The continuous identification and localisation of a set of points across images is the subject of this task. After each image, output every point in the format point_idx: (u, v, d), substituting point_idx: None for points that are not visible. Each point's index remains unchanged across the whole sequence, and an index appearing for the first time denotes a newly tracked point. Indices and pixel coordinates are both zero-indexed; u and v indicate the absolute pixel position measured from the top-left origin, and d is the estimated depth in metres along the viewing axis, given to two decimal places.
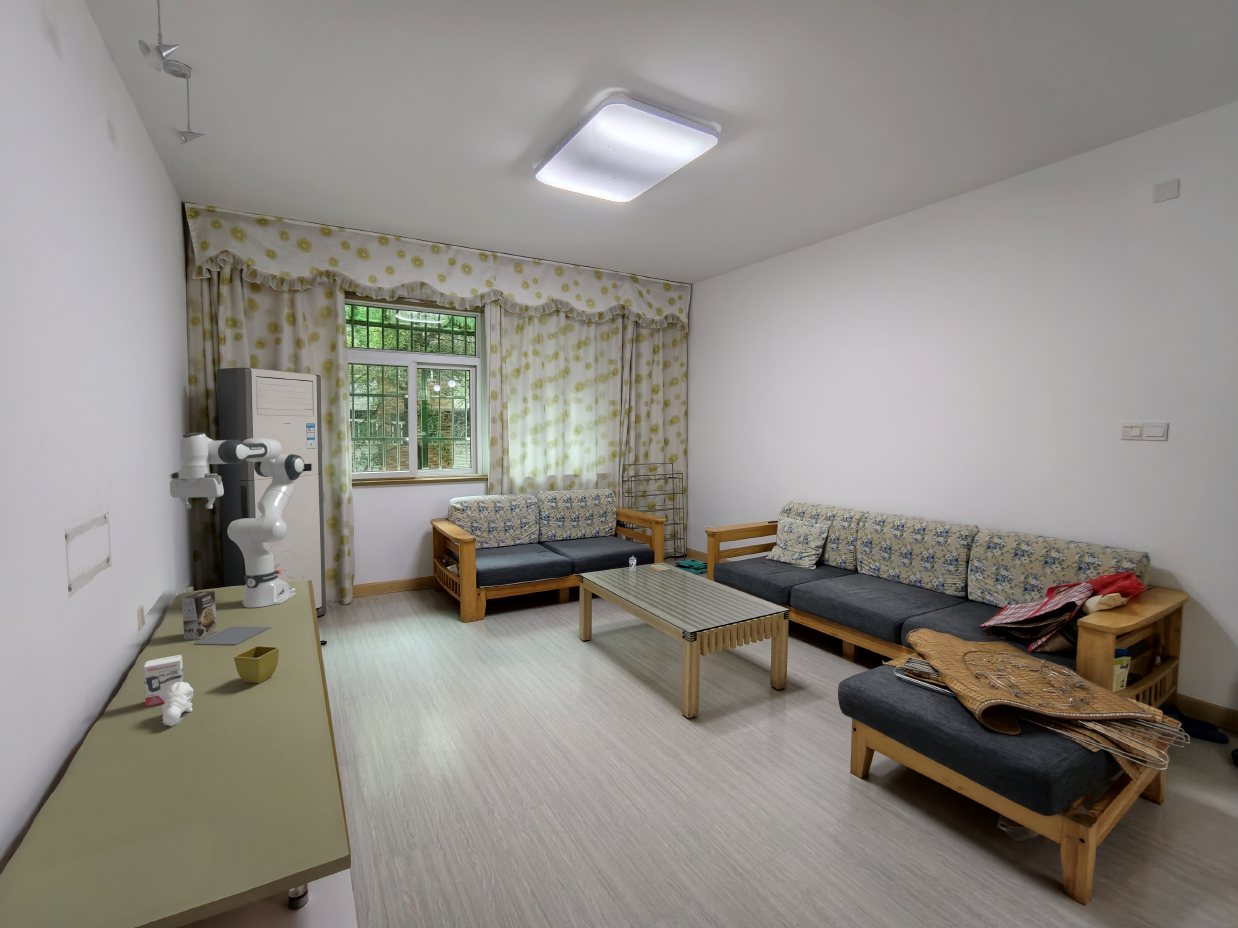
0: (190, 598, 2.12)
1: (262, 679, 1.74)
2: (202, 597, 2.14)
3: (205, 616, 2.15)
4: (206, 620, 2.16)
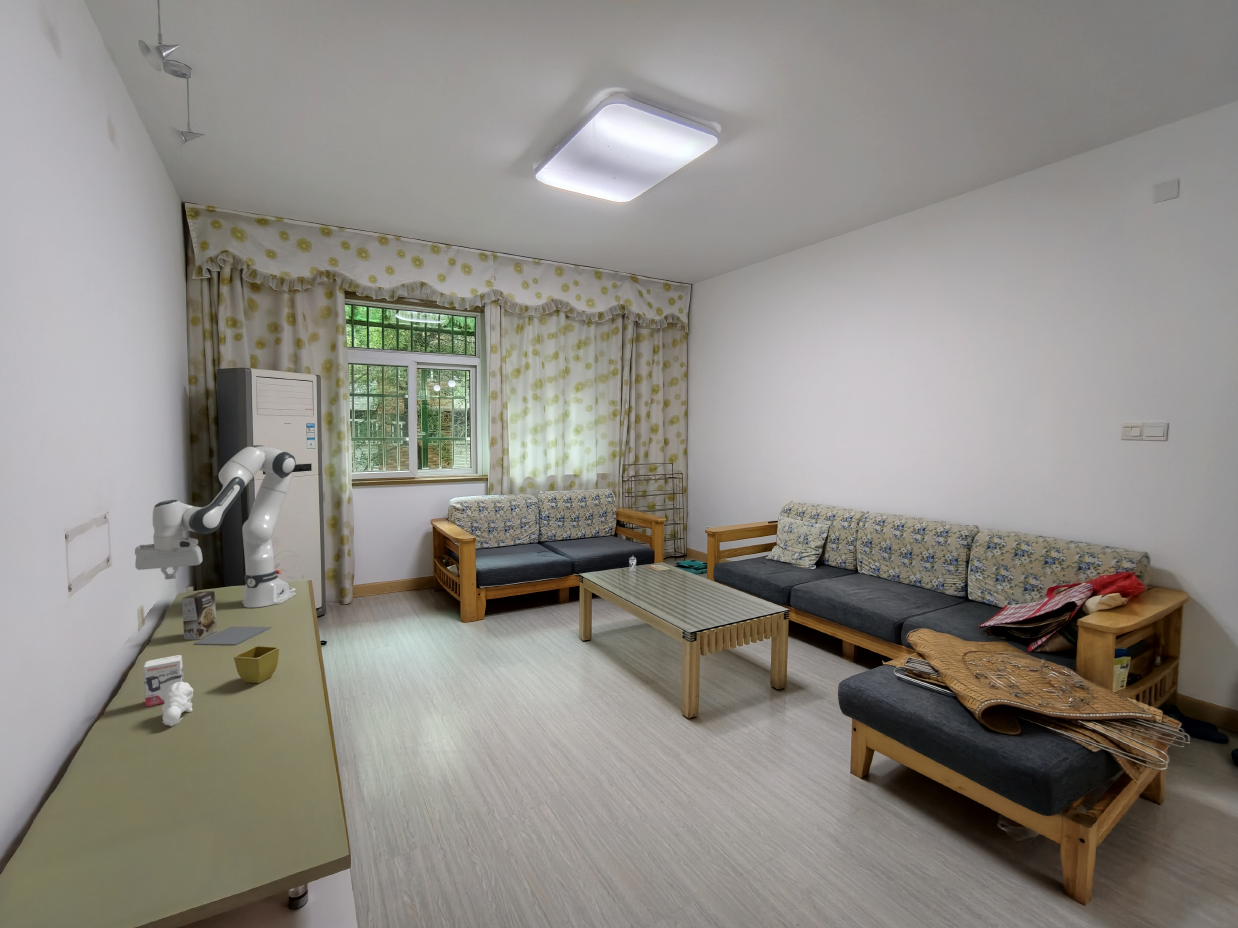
0: (190, 598, 2.12)
1: (262, 679, 1.74)
2: (202, 597, 2.14)
3: (205, 616, 2.15)
4: (206, 620, 2.16)
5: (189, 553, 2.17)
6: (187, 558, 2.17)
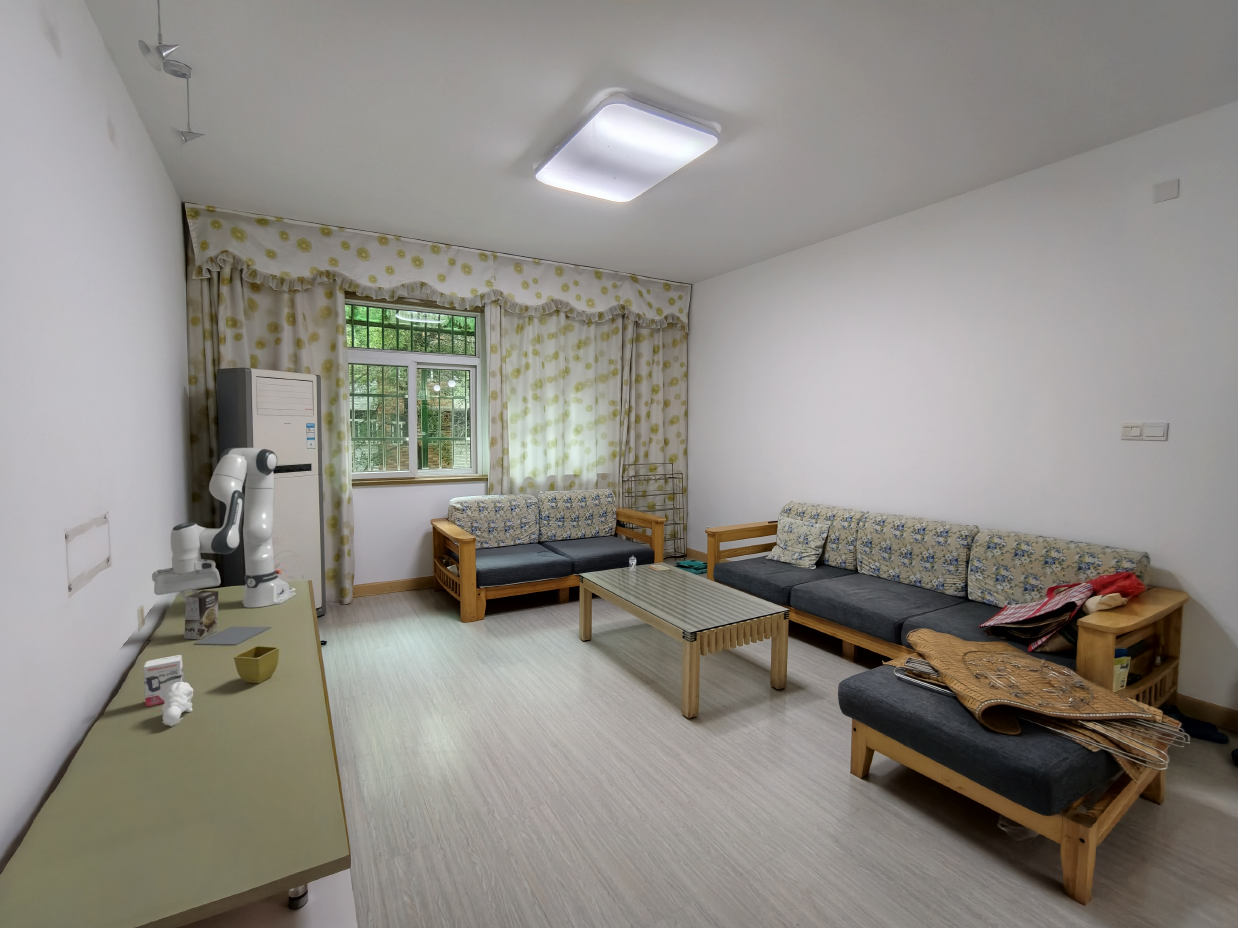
0: (194, 598, 2.12)
1: (262, 679, 1.74)
2: (206, 597, 2.14)
3: (207, 616, 2.15)
4: (208, 620, 2.16)
5: (209, 574, 2.19)
6: (208, 579, 2.19)
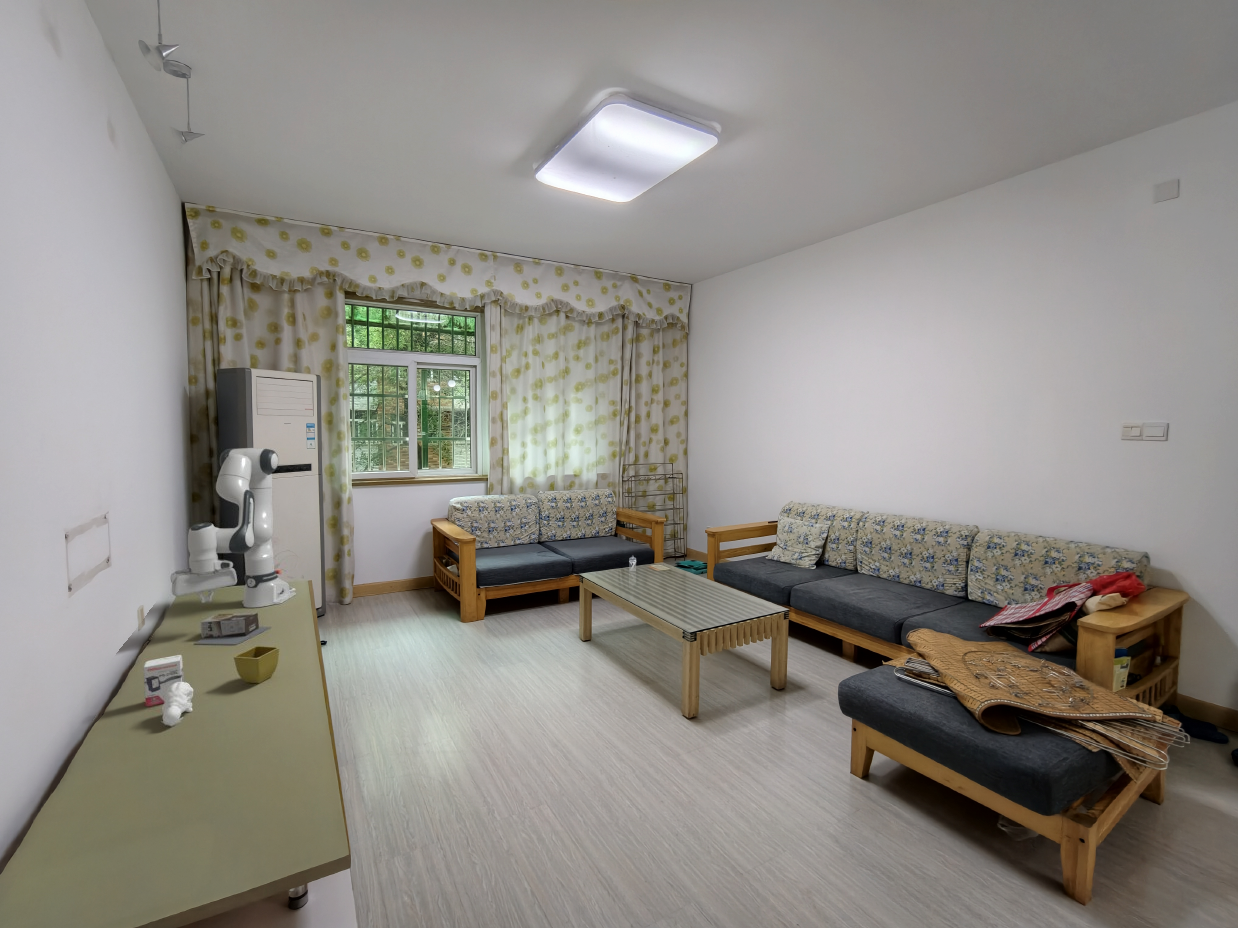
0: (244, 628, 2.14)
1: (262, 679, 1.74)
2: None
3: None
4: None
5: (226, 574, 2.20)
6: (225, 579, 2.19)
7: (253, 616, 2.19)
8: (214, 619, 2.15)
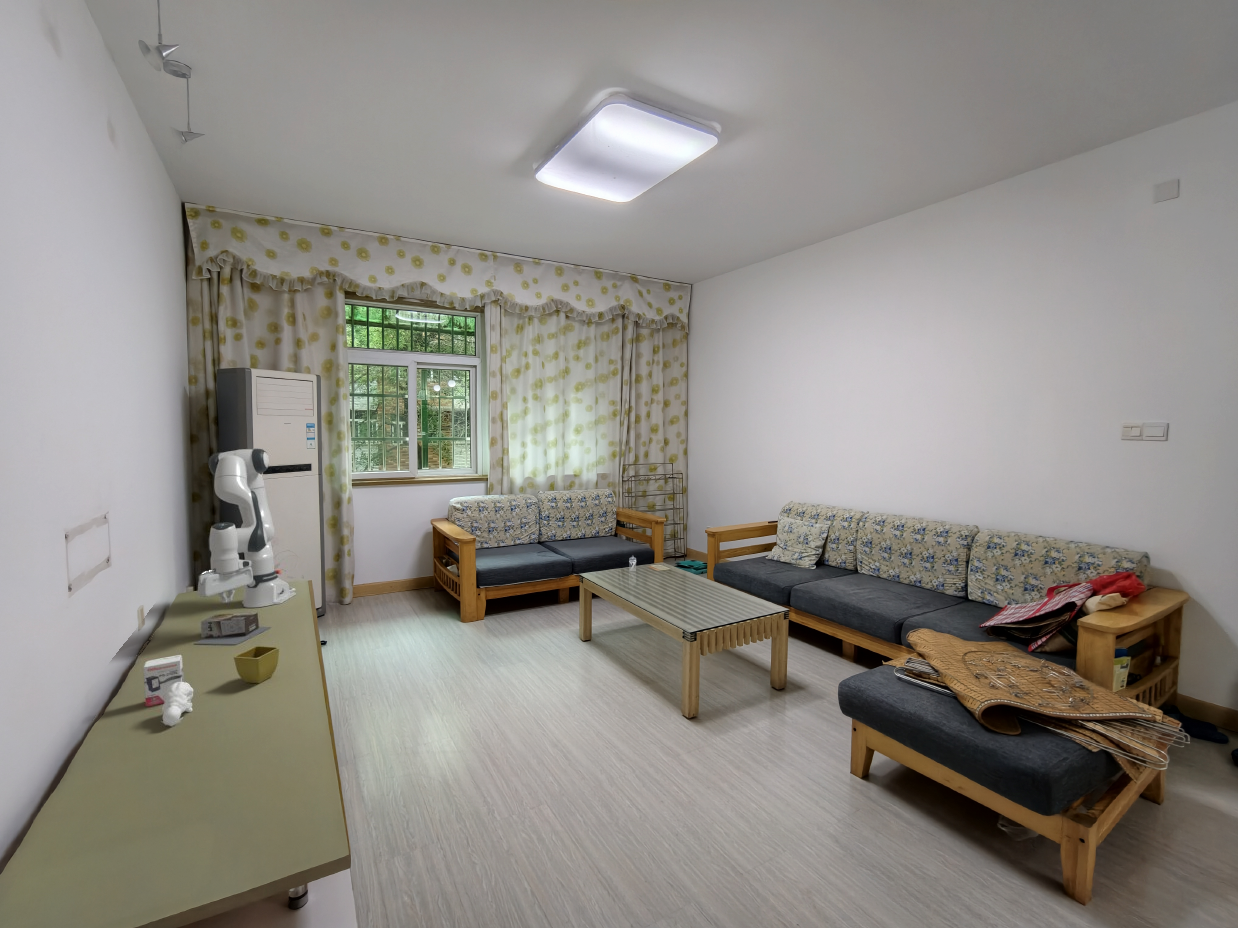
0: (244, 628, 2.14)
1: (262, 679, 1.74)
2: None
3: None
4: None
5: (245, 573, 2.21)
6: (244, 578, 2.20)
7: (253, 616, 2.19)
8: (214, 619, 2.15)
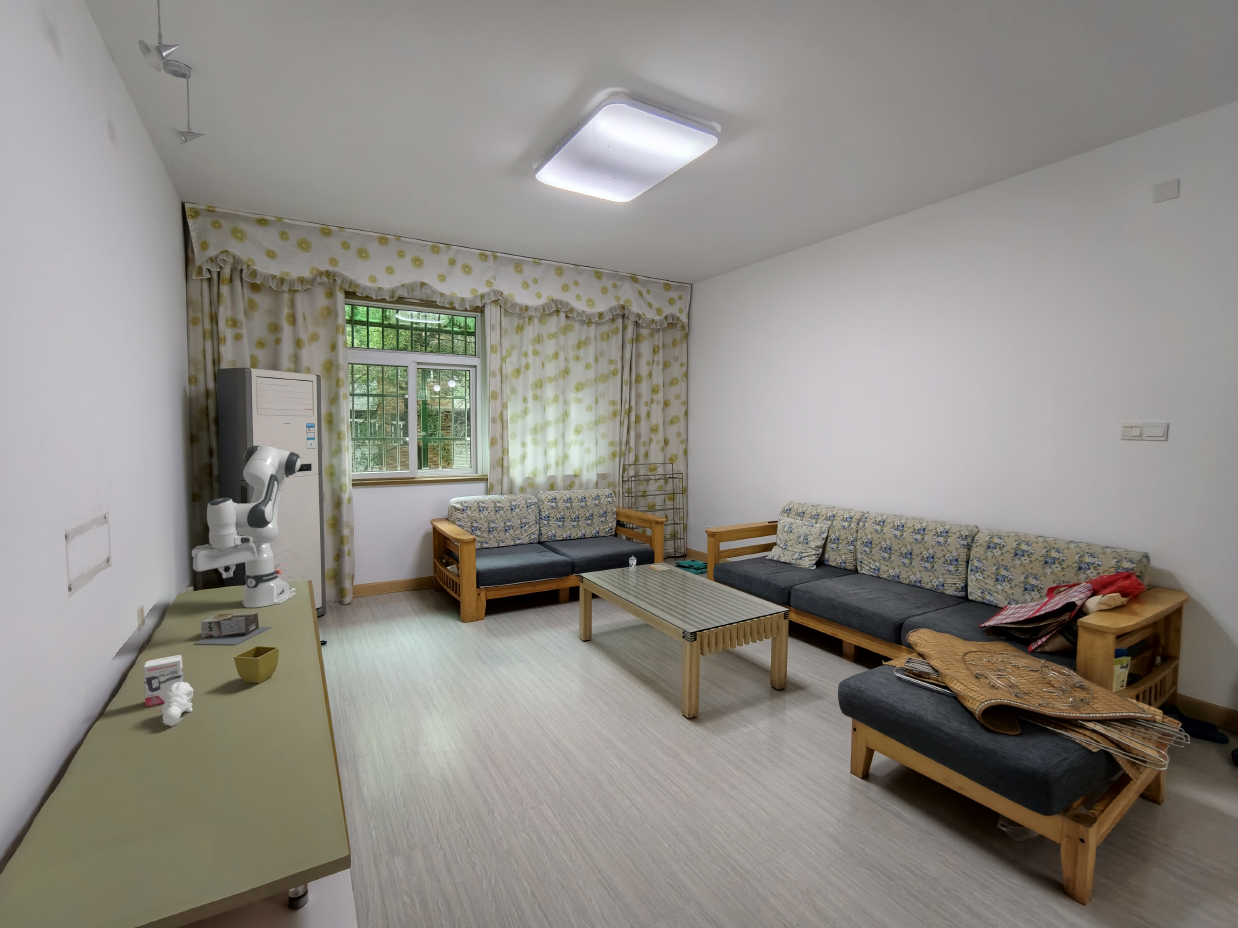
0: (244, 628, 2.14)
1: (262, 679, 1.74)
2: None
3: None
4: None
5: (247, 549, 2.18)
6: (246, 554, 2.18)
7: (253, 616, 2.19)
8: (214, 619, 2.15)
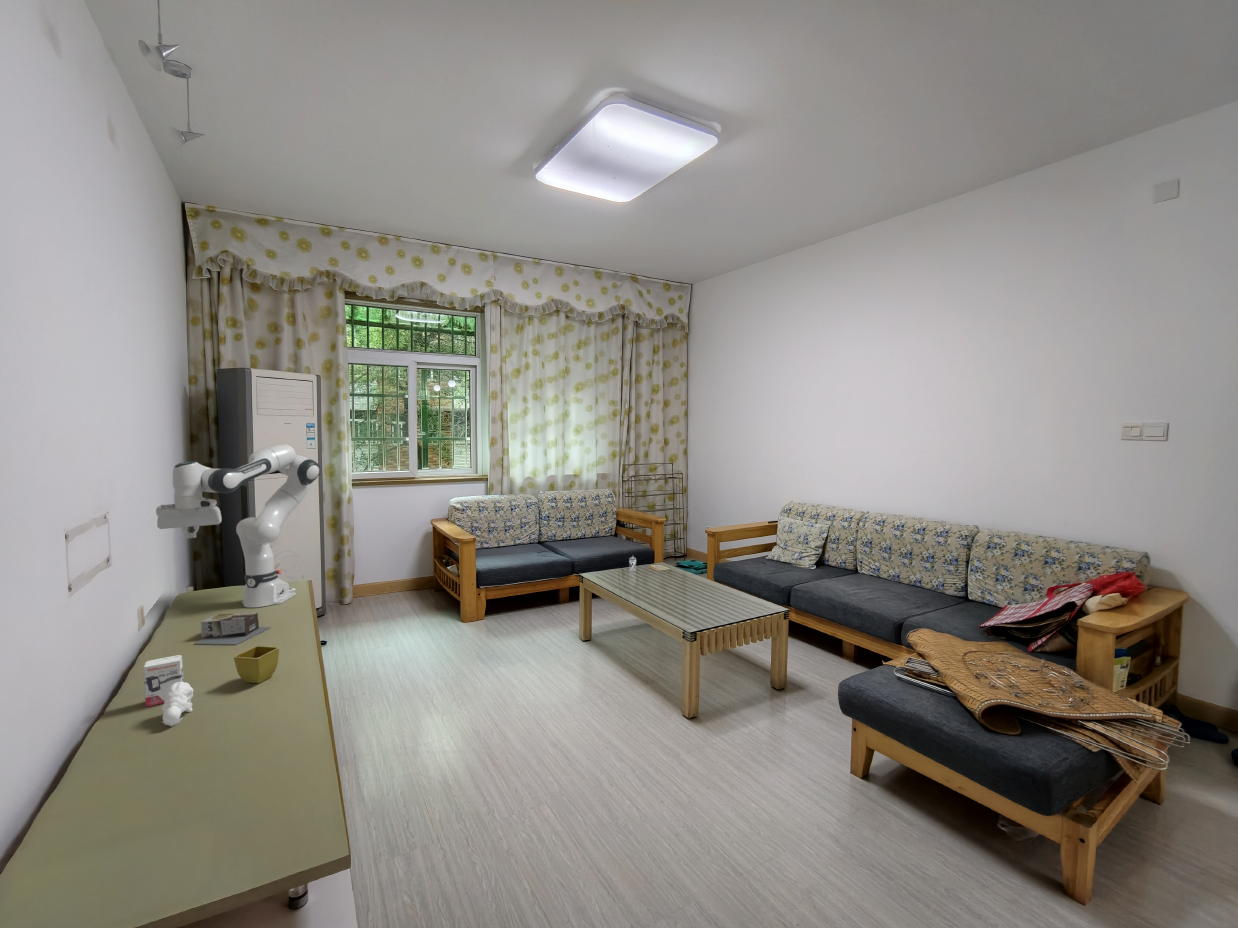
0: (244, 628, 2.14)
1: (262, 679, 1.74)
2: None
3: None
4: None
5: (209, 513, 2.24)
6: (208, 517, 2.24)
7: (253, 616, 2.19)
8: (214, 619, 2.15)
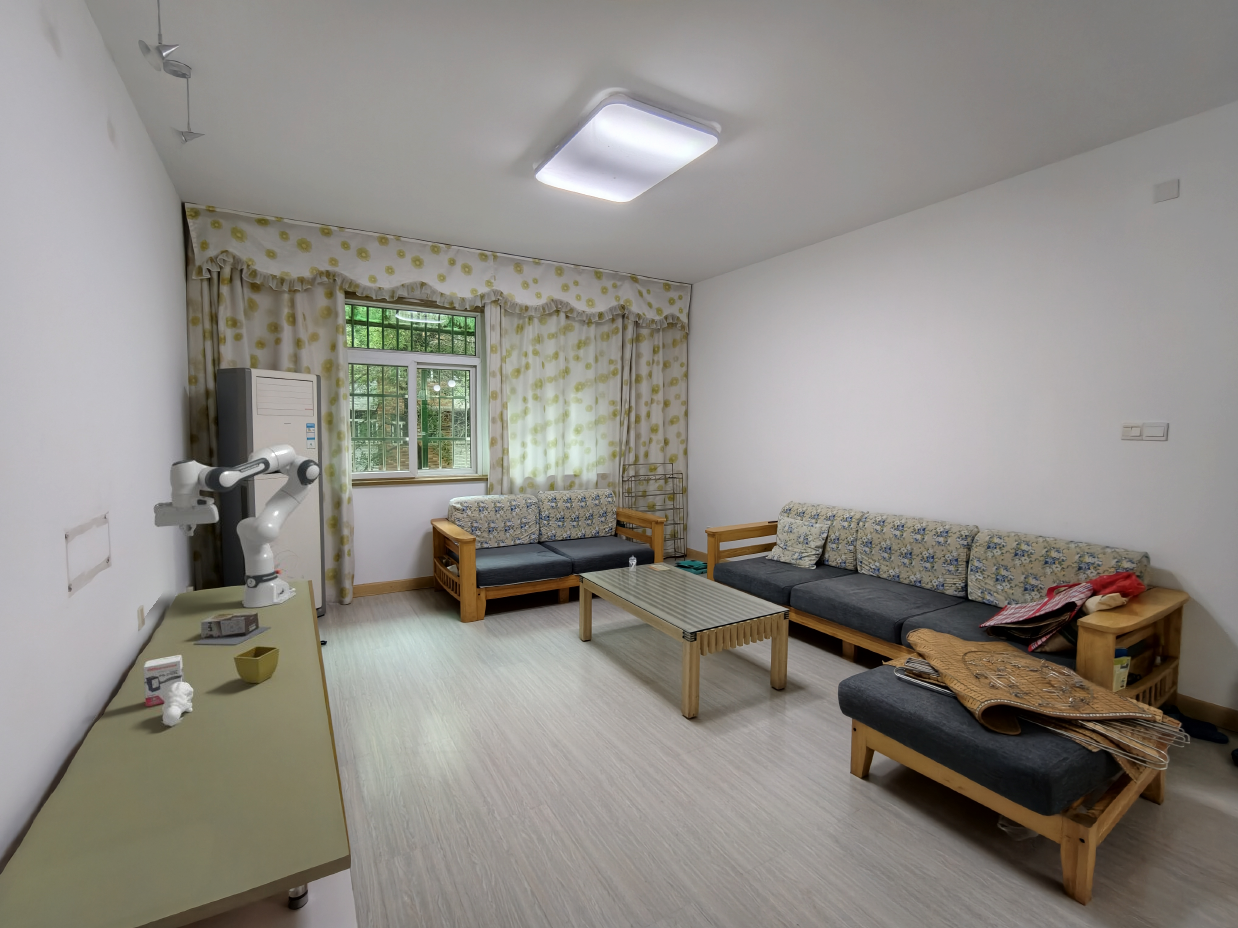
0: (244, 628, 2.14)
1: (262, 679, 1.74)
2: None
3: None
4: None
5: (206, 511, 2.24)
6: (204, 516, 2.24)
7: (253, 616, 2.19)
8: (214, 619, 2.15)
